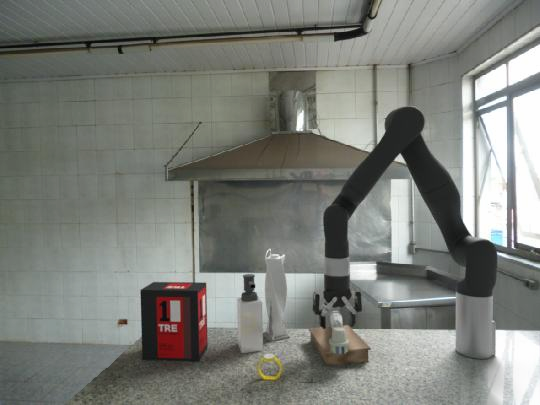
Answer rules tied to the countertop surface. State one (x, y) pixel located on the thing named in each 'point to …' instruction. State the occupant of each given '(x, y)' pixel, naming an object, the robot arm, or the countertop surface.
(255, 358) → the countertop surface
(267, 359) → the watch
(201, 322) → the cleaning product box
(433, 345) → the countertop surface
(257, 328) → the soap dispenser
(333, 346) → the white handheld device
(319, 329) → the stand
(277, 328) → the skyscraper
